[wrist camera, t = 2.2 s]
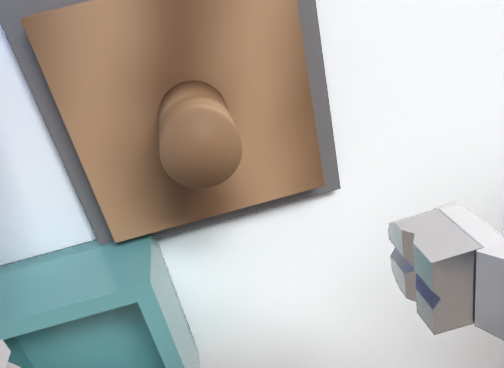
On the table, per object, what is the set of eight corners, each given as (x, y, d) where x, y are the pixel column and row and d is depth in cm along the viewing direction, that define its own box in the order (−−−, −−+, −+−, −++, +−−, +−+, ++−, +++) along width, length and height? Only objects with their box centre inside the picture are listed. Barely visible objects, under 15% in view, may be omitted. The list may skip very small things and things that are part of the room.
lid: (283, -47, 19) (323, -42, 14) (318, 176, 23) (356, 231, 19) (26, 15, 18) (-14, 41, 14) (116, 231, 23) (107, 301, 18)
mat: (300, -82, 19) (304, -82, 18) (336, 183, 24) (340, 188, 24) (-8, -8, 18) (-13, -6, 17) (104, 246, 24) (103, 253, 23)
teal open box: (151, 224, 24) (150, 282, 20) (197, 350, 28) (204, 418, 24) (-32, 274, 23) (-70, 343, 19) (44, 395, 27) (26, 471, 24)
